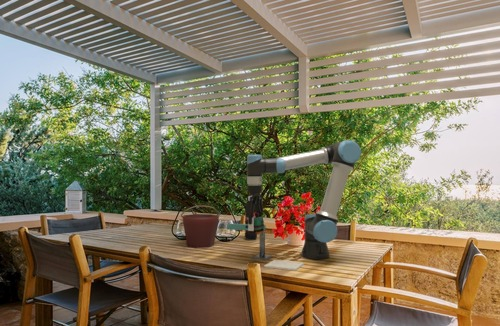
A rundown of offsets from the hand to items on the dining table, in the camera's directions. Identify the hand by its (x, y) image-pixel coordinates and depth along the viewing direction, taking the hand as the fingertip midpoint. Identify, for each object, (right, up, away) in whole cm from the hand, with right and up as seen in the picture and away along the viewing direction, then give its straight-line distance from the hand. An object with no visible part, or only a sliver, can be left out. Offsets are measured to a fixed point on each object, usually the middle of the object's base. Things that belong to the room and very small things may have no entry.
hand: (254, 229), depth 201 cm
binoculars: (0, -2, 0) cm, 2 cm away
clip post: (+4, -17, +13) cm, 22 cm away
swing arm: (-4, -3, +16) cm, 17 cm away
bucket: (-34, -18, +48) cm, 61 cm away
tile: (+15, -17, -5) cm, 23 cm away
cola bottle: (-2, -19, +72) cm, 74 cm away
